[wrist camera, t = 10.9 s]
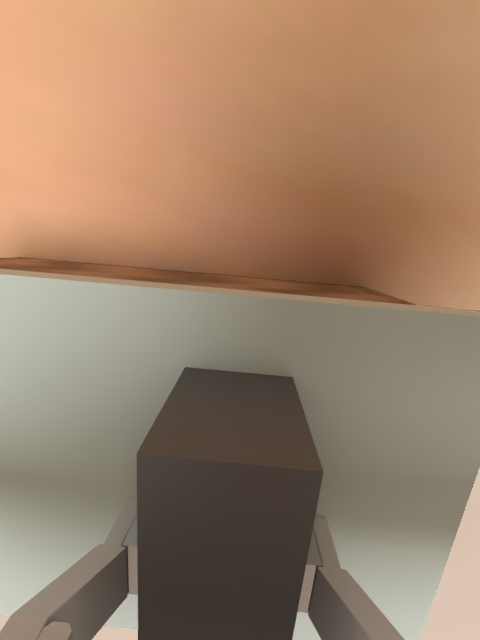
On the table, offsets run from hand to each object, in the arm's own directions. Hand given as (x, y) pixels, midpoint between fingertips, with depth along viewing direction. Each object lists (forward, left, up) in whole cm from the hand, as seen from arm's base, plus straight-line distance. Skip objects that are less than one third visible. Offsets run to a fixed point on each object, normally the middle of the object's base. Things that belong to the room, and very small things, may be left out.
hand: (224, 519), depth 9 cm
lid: (+3, -3, -2) cm, 5 cm away
